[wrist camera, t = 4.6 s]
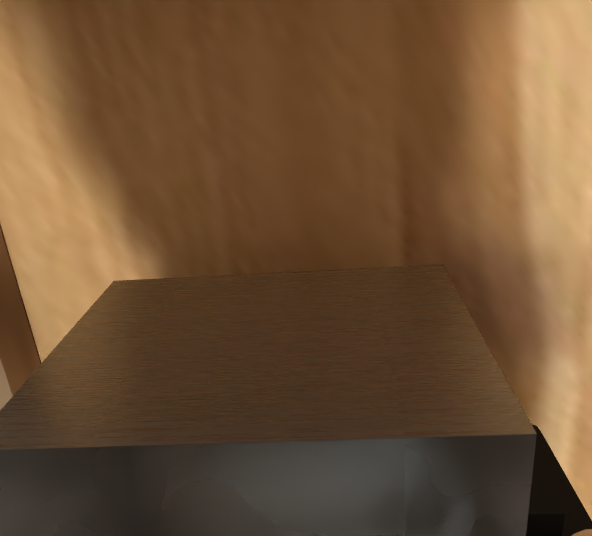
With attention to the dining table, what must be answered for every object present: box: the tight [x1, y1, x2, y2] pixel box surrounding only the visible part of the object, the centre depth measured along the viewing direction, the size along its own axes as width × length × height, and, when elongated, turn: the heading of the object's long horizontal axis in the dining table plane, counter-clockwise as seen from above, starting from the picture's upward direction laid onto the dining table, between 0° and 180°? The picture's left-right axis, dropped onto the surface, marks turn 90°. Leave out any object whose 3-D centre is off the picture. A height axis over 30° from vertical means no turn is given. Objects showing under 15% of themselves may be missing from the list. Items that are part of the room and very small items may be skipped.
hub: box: [0, 265, 537, 536], centre depth 10 cm, size 6×6×5 cm
